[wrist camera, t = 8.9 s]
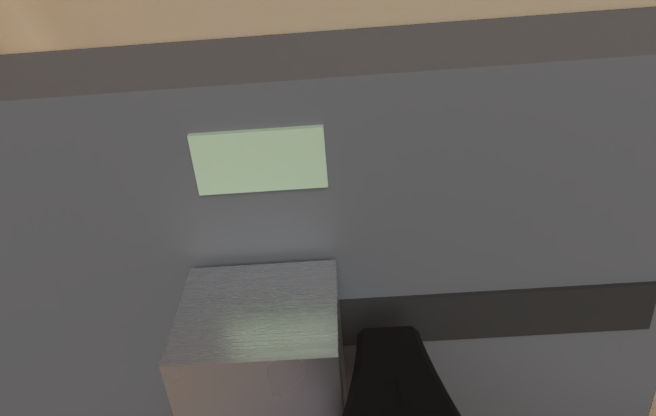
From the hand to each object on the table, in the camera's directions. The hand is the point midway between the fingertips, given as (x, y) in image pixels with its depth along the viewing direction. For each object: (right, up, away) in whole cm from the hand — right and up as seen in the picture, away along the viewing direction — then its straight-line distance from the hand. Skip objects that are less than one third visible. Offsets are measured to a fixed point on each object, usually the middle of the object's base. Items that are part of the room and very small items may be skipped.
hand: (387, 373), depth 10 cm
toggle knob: (-2, 0, +1) cm, 2 cm away
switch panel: (-7, +2, +4) cm, 8 cm away
